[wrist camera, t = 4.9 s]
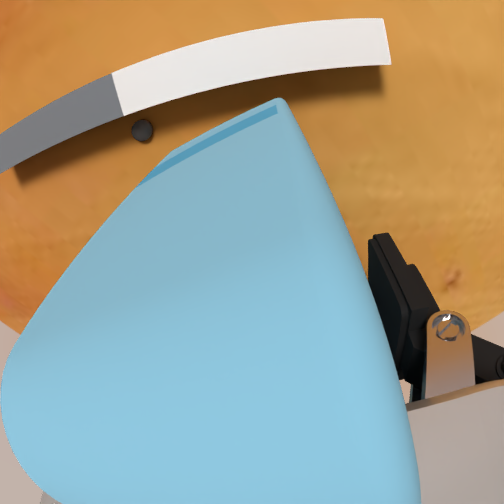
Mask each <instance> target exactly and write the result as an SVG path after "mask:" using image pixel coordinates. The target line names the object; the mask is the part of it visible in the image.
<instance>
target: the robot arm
mask: <svg viewBox="0 0 504 504" xmlns="http://www.w3.org/2000/svg"><path fill="white" fill-rule="evenodd" d="M368 283H369V286H370V289H371V291H372V294H373V297H374V300H375V303H376V306H377V309H378V312H379V315H380V318H381V321H382V324H383V327H384V330H385V333H386V337H387V340H388V343H389V346H390V350H391V353H392V357H393V360H394V364H395V367H396V371H397V374H398V378H399V380H402V379H405V381H407V382H408V383H410V384H411V389H410V400H409V403H407V404H405V406H406V410H407V414H408V419H409V423H410V428H411V433H412V437H413V443H414V448H415V453H416V459H417V465H418V472H419V479H420V489H421V504H504V348H503V347H501V346H498V345H496V344H493V343H491V342H489V341H486V340H484V339H481V338H479V337H477V336H474V335H472V334H471V331H470V326H469V323H468V321H467V320H466V318H465V317H464V316H462V315H461V314H459V313H457V312H455V311H450V310H443V311H440V309H439V307H438V305H437V303H436V302H435V300H434V298H433V296H432V294H431V292H430V290H429V289H428V287H427V285H426V283H425V281H424V280H423V278H422V276H421V274H420V272H419V271H418V269H417V267H416V266H415V265H414V264H410V265H407V264H406V262H405V260H404V259H403V257H402V255H401V253H400V252H399V250H398V248H397V246H396V245H395V243H394V241H393V240H392V238H391V236H390V235H389V233H382V234H375V235H373V239H369V240H368ZM40 504H62V503H60V502H58V501H57V500H55V499H54V498H52V497H51V496H50V495H48V494H47V493H46V492H44V491H43V494H42V498H41V502H40Z"/></svg>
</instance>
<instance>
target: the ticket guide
mask: <svg viewBox="0 0 504 504" xmlns="http://www.w3.org/2000/svg"><path fill="white" fill-rule="evenodd" d="M369 65H391V58H390V52H389V46H388V41H387V35H386V30H385V25H384V21H383V18H361V19H338V20H324V21H313V22H303V23H295V24H287V25H280V26H274V27H268V28H262V29H257V30H251V31H246V32H241V33H237V34H232V35H228V36H223V37H219V38H215V39H211V40H207V41H204V42H200V43H196V44H193V45H189V46H186V47H183V48H179V49H176V50H173V51H170V52H167V53H164V54H161V55H158V56H155V57H152V58H149V59H146V60H144V61H141V62H138V63H136V64H133V65H131V66H128V67H126V68H123V69H121V70H118V71H116V72H113V73H111V74H109V75H106V76H104V77H102V78H100V79H97V80H95V81H93V82H91V83H89V84H87V85H85V86H83V87H80V88H78V89H76V90H74V91H72V92H70V93H69V94H67V95H65V96H63V97H61V98H59V99H57V100H55V101H53V102H52V103H50V104H48V105H46V106H44V107H43V108H41V109H39V110H38V111H36V112H34V113H33V114H31V115H29V116H28V117H26V118H24V119H23V120H21V121H20V122H18V123H16V124H15V125H13V126H12V127H10V128H9V129H7V130H6V131H4V132H3V133H1V134H0V173H2V172H4V171H6V170H7V169H9V168H11V167H13V166H15V165H16V164H18V163H20V162H22V161H24V160H26V159H28V158H29V157H31V156H33V155H35V154H37V153H39V152H41V151H43V150H45V149H47V148H49V147H51V146H53V145H56V144H58V143H60V142H62V141H64V140H66V139H68V138H71V137H73V136H75V135H77V134H80V133H82V132H84V131H87V130H89V129H92V128H94V127H96V126H99V125H101V124H104V123H106V122H109V121H112V120H114V119H117V118H120V117H122V116H125V115H128V114H131V113H133V112H136V111H139V110H142V109H145V108H148V107H151V106H154V105H157V104H160V103H164V102H167V101H170V100H174V99H177V98H180V97H184V96H187V95H191V94H195V93H198V92H202V91H206V90H210V89H214V88H218V87H223V86H227V85H231V84H236V83H240V82H245V81H250V80H255V79H261V78H266V77H272V76H277V75H284V74H290V73H297V72H304V71H312V70H320V69H330V68H340V67H353V66H369ZM152 132H153V128H152V125H151V123H150V122H149V121H147V120H139V121H137V122H135V123H134V124H133V126H132V135H133V137H134V138H135V139H136V140H138V141H145V140H147V139H148V138H150V137H151V135H152Z"/></svg>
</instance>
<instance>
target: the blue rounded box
mask: <svg viewBox="0 0 504 504" xmlns="http://www.w3.org/2000/svg"><path fill="white" fill-rule="evenodd" d="M0 400H1V401H0V404H1V412H2V420H3V424H4V428H5V432H6V435H7V438H8V441H9V443H10V445H11V448H12V450H13V452H14V454H15V456H16V458H17V459H18V461H19V463H20V464H21V466H22V468H23V469H24V470H25V471H26V473H27V474H28V475H29V477H30V478H31V479H32V480H33V481H34V482H35V483H36V484H37V485H38V486H39V487H40V488H41V489H42V490H43V491H44V492H46V493H47V494H48V495H50V496H51V497H52V498H54V499H55V500H57V501H58V502H60V503H62V504H421V489H420V479H419V472H418V465H417V459H416V453H415V448H414V443H413V437H412V433H411V428H410V423H409V419H408V414H407V410H406V406H405V402H404V398H403V393H402V390H401V386H400V382H399V378H398V374H397V371H396V367H395V364H394V360H393V357H392V353H391V350H390V346H389V343H388V340H387V337H386V333H385V330H384V327H383V324H382V321H381V318H380V315H379V312H378V309H377V306H376V303H375V300H374V297H373V294H372V291H371V289H370V286H369V283H368V280H367V278H366V275H365V272H364V270H363V267H362V264H361V262H360V259H359V257H358V254H357V251H356V249H355V246H354V244H353V242H352V239H351V237H350V234H349V232H348V230H347V227H346V225H345V222H344V220H343V218H342V216H341V213H340V211H339V209H338V206H337V204H336V202H335V200H334V197H333V195H332V193H331V191H330V189H329V186H328V184H327V182H326V180H325V178H324V176H323V174H322V171H321V169H320V167H319V165H318V163H317V161H316V159H315V157H314V155H313V153H312V151H311V149H310V147H309V145H308V143H307V141H306V139H305V137H304V135H303V133H302V131H301V129H300V127H299V125H298V123H297V121H296V119H295V118H294V116H293V114H292V112H291V110H290V108H289V106H288V104H287V103H286V101H285V100H284V99H282V98H275V99H273V100H270V101H268V102H266V103H264V104H262V105H259V106H257V107H255V108H253V109H251V110H249V111H247V112H245V113H243V114H241V115H238V116H236V117H234V118H232V119H230V120H228V121H226V122H224V123H223V124H221V125H219V126H217V127H215V128H213V129H211V130H209V131H207V132H205V133H203V134H202V135H200V136H198V137H196V138H194V139H192V140H191V141H189V142H187V143H185V144H183V145H182V146H180V147H178V148H176V149H175V150H173V151H171V152H170V153H169V154H168V155H167V156H166V157H165V158H164V159H163V160H162V161H161V162H160V163H159V164H158V165H157V166H156V167H155V168H154V169H153V170H152V171H151V172H150V173H149V174H148V175H147V176H146V177H145V178H144V179H143V180H142V181H141V182H140V184H139V185H138V186H137V187H136V188H135V189H134V190H133V191H132V192H131V193H130V194H129V195H128V196H127V198H126V199H125V200H124V201H123V202H122V203H121V204H120V205H119V206H118V207H117V209H116V210H115V211H114V212H113V213H112V214H111V215H110V217H109V218H108V219H107V220H106V221H105V222H104V224H103V225H102V226H101V227H100V228H99V229H98V231H97V232H96V233H95V234H94V235H93V237H92V238H91V239H90V240H89V241H88V243H87V244H86V245H85V246H84V248H83V249H82V250H81V251H80V253H79V254H78V255H77V256H76V258H75V259H74V260H73V261H72V263H71V264H70V265H69V267H68V268H67V269H66V271H65V272H64V273H63V275H62V276H61V277H60V279H59V280H58V281H57V283H56V284H55V285H54V287H53V288H52V289H51V291H50V292H49V294H48V295H47V296H46V298H45V299H44V301H43V302H42V304H41V305H40V306H39V308H38V309H37V311H36V312H35V314H34V315H33V317H32V318H31V320H30V321H29V323H28V324H27V326H26V327H25V329H24V331H23V332H22V334H21V335H20V337H19V338H18V340H17V342H16V343H15V345H14V347H13V349H12V351H11V353H10V355H9V357H8V359H7V362H6V365H5V368H4V371H3V377H2V383H1V398H0Z"/></svg>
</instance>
